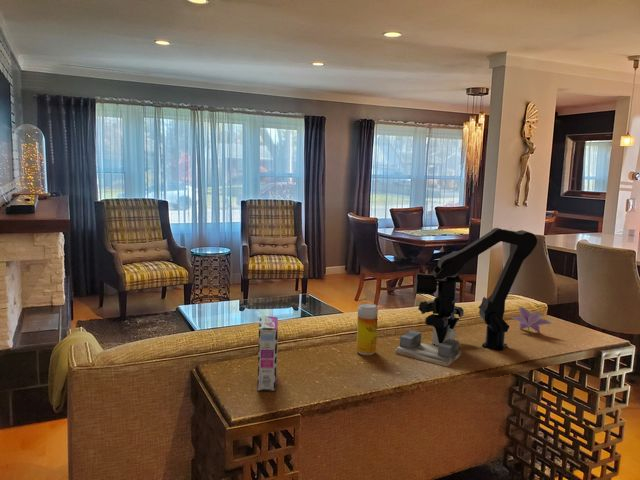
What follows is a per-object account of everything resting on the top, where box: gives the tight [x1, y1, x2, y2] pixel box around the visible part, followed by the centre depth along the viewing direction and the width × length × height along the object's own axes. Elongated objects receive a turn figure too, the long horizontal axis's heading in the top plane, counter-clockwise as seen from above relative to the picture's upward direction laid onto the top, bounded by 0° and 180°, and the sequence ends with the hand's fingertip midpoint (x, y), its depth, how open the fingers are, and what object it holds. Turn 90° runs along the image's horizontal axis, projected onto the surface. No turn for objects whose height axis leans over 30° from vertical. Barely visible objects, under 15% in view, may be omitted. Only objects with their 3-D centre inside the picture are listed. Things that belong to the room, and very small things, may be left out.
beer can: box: [355, 302, 379, 356], centre depth 156 cm, size 6×6×15 cm
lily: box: [511, 306, 552, 336], centre depth 180 cm, size 12×12×10 cm
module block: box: [431, 327, 456, 346], centre depth 166 cm, size 4×6×5 cm
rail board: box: [395, 330, 462, 367], centre depth 156 cm, size 12×16×5 cm
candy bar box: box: [257, 316, 279, 392], centre depth 132 cm, size 11×5×16 cm, turn 5°
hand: (443, 341), depth 166 cm, fingers closed on module block, 4 cm apart
